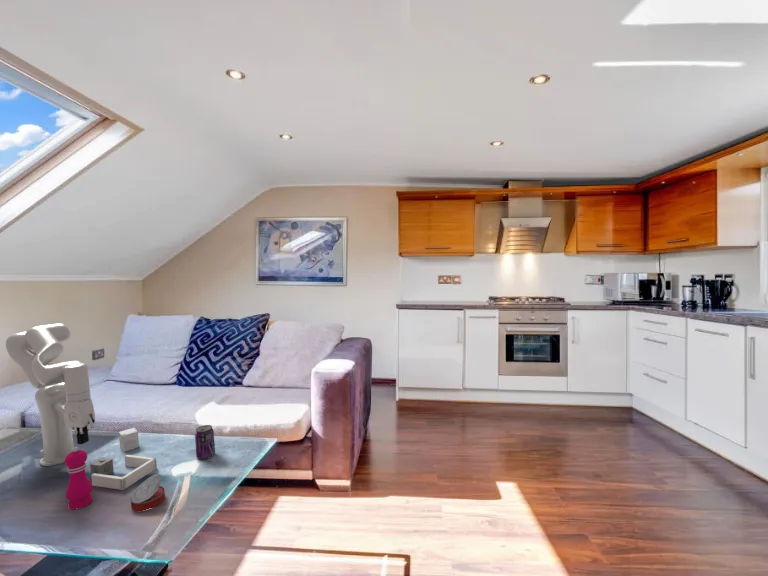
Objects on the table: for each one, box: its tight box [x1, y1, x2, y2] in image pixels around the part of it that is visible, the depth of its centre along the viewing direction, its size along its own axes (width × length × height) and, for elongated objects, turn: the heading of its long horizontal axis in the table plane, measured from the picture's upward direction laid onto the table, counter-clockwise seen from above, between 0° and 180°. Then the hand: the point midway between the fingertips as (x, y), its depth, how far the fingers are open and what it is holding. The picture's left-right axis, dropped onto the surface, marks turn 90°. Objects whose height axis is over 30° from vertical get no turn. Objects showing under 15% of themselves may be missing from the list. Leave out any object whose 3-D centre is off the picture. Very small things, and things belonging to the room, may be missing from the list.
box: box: [90, 454, 158, 491], centre depth 150 cm, size 14×15×4 cm
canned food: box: [130, 473, 166, 513], centre depth 134 cm, size 11×10×10 cm
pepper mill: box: [64, 446, 93, 510], centre depth 133 cm, size 7×7×20 cm
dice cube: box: [89, 457, 115, 476], centre depth 153 cm, size 5×5×5 cm
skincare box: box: [118, 427, 140, 453], centre depth 174 cm, size 6×6×7 cm
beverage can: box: [194, 424, 216, 460], centre depth 164 cm, size 7×7×12 cm
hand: (83, 442), depth 154 cm, fingers closed
